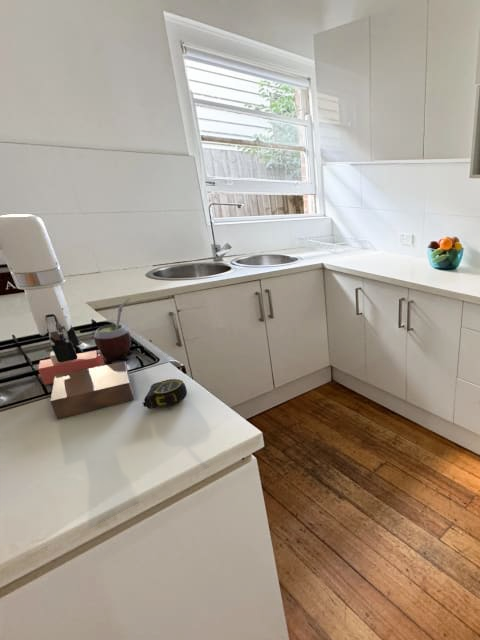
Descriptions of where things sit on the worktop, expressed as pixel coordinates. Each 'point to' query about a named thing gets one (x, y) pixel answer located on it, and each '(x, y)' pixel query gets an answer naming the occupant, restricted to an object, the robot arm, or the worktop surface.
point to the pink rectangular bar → (68, 365)
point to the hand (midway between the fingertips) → (69, 352)
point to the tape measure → (165, 394)
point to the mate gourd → (114, 340)
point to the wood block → (90, 389)
